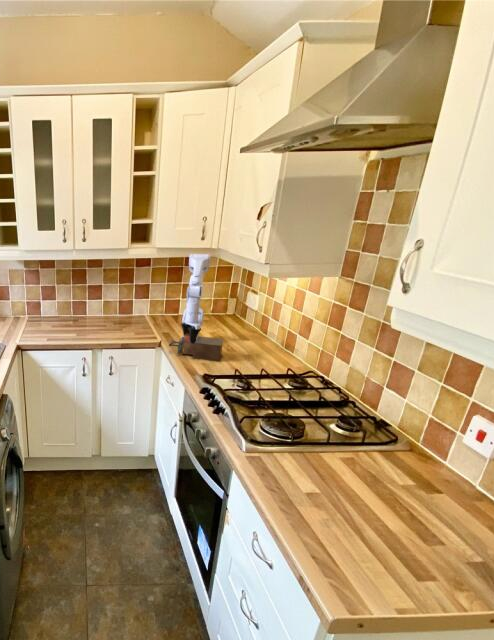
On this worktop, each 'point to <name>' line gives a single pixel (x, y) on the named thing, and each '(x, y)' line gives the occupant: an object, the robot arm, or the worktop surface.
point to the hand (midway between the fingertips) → (189, 340)
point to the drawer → (183, 346)
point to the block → (187, 338)
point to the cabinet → (208, 348)
